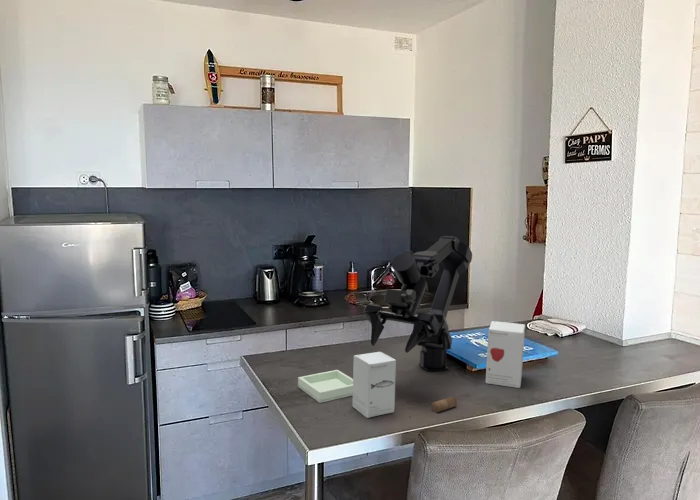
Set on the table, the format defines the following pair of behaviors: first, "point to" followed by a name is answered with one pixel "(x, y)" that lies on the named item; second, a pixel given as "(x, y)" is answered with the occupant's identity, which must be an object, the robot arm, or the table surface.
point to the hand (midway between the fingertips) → (388, 348)
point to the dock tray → (327, 385)
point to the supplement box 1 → (374, 384)
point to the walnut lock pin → (444, 404)
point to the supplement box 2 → (505, 354)
